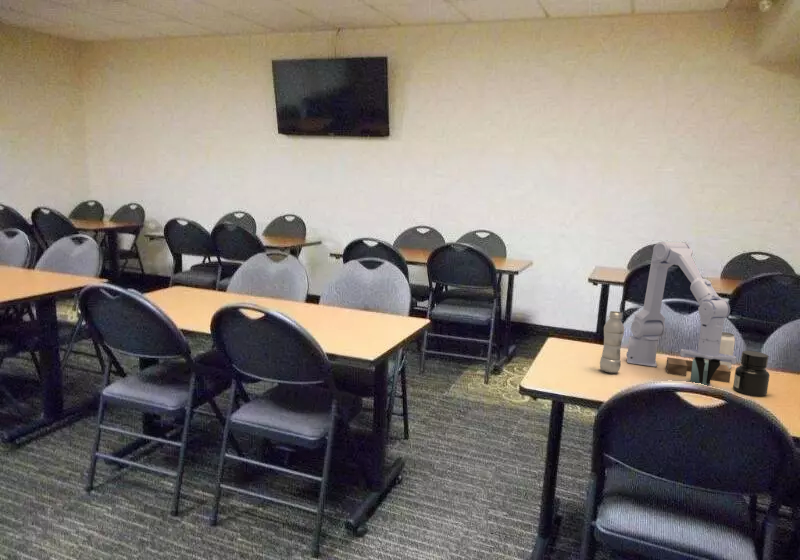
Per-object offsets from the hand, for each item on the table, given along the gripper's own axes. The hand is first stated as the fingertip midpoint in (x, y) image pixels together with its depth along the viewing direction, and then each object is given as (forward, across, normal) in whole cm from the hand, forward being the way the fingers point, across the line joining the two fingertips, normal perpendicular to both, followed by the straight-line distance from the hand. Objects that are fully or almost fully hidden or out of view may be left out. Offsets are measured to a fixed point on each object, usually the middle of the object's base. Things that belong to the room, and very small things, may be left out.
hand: (704, 382), depth 173 cm
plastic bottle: (+3, -27, +4) cm, 27 cm away
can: (+3, +9, +31) cm, 33 cm away
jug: (+2, 0, +5) cm, 6 cm away
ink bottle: (+3, +13, +6) cm, 15 cm away
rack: (+2, 0, +16) cm, 17 cm away
